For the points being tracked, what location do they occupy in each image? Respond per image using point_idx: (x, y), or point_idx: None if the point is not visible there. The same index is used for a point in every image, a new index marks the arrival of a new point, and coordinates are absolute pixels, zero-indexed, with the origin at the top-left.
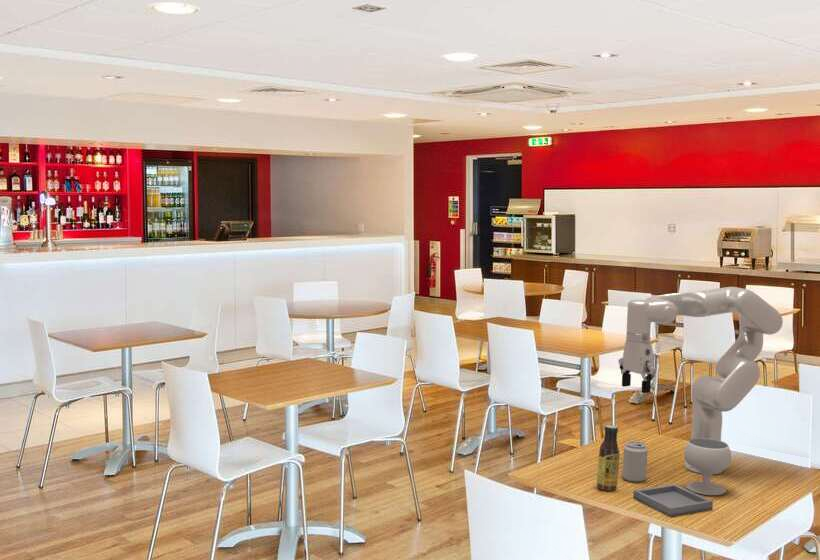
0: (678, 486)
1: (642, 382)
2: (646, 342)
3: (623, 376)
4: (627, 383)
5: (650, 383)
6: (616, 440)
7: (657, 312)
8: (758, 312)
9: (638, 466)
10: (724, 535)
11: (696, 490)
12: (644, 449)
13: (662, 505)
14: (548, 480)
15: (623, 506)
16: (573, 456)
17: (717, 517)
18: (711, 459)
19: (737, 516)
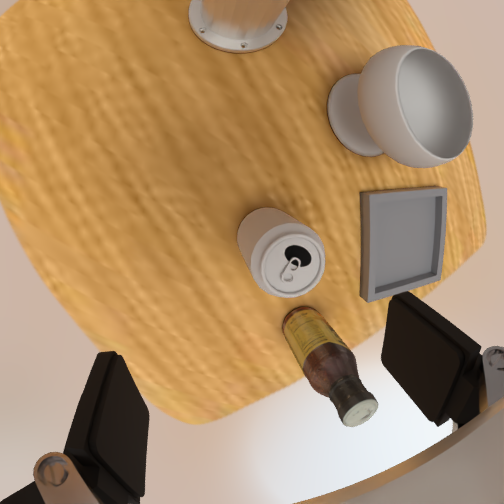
0: (382, 196)
1: (434, 414)
2: None
3: (139, 488)
4: (130, 399)
5: (456, 331)
6: (358, 377)
7: None
8: None
9: (306, 254)
10: (481, 238)
11: (379, 148)
12: (322, 249)
13: (426, 283)
14: (228, 398)
15: (378, 326)
16: (77, 295)
17: (454, 202)
18: (456, 143)
19: (459, 168)
